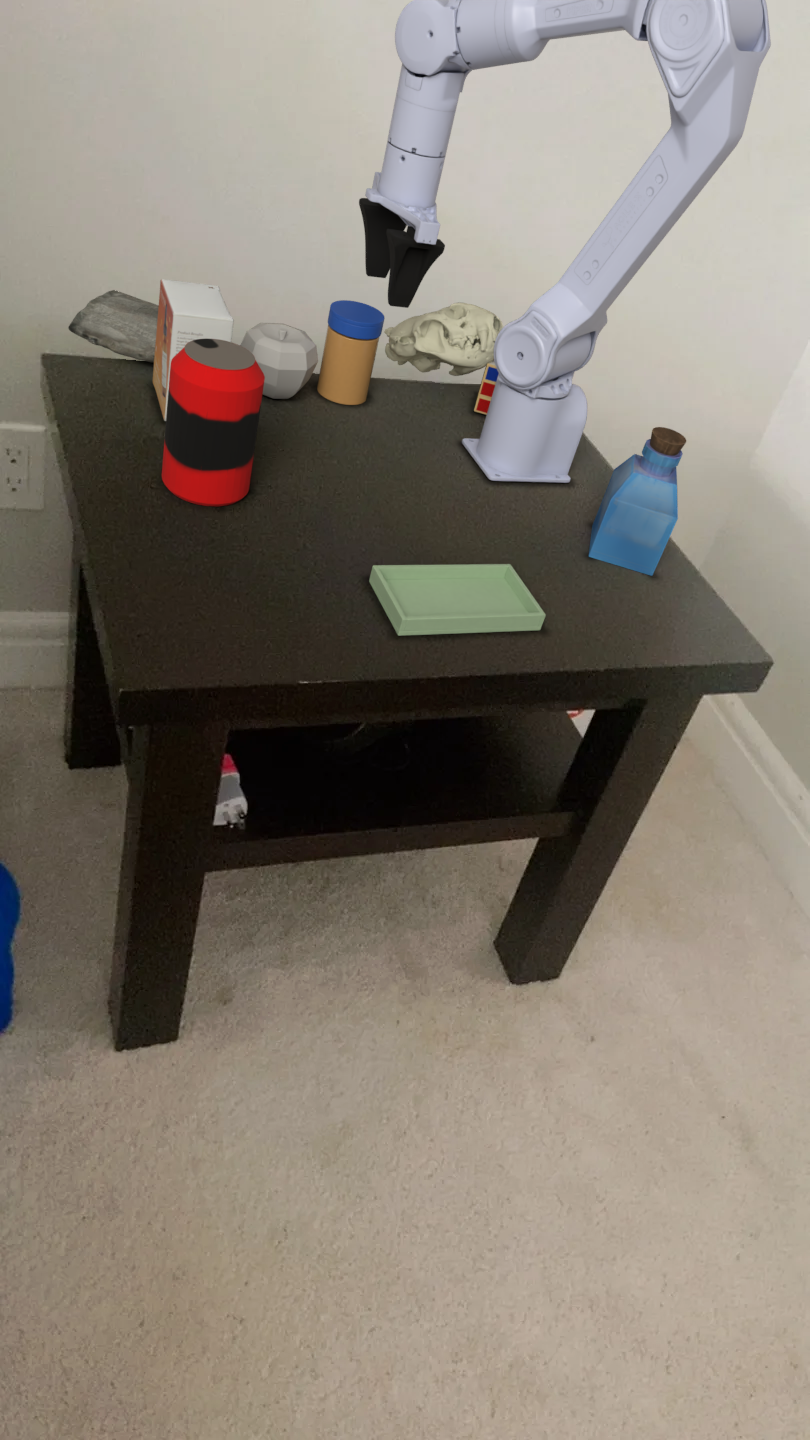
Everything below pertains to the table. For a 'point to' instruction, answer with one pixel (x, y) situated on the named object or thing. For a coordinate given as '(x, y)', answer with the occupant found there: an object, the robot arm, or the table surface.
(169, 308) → the small box
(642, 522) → the perfume bottle
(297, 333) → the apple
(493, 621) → the tray
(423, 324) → the animal skull
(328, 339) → the jar
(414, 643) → the table surface
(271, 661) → the table surface
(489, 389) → the rubik's cube
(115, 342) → the stone
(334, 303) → the lid
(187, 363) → the soda can
